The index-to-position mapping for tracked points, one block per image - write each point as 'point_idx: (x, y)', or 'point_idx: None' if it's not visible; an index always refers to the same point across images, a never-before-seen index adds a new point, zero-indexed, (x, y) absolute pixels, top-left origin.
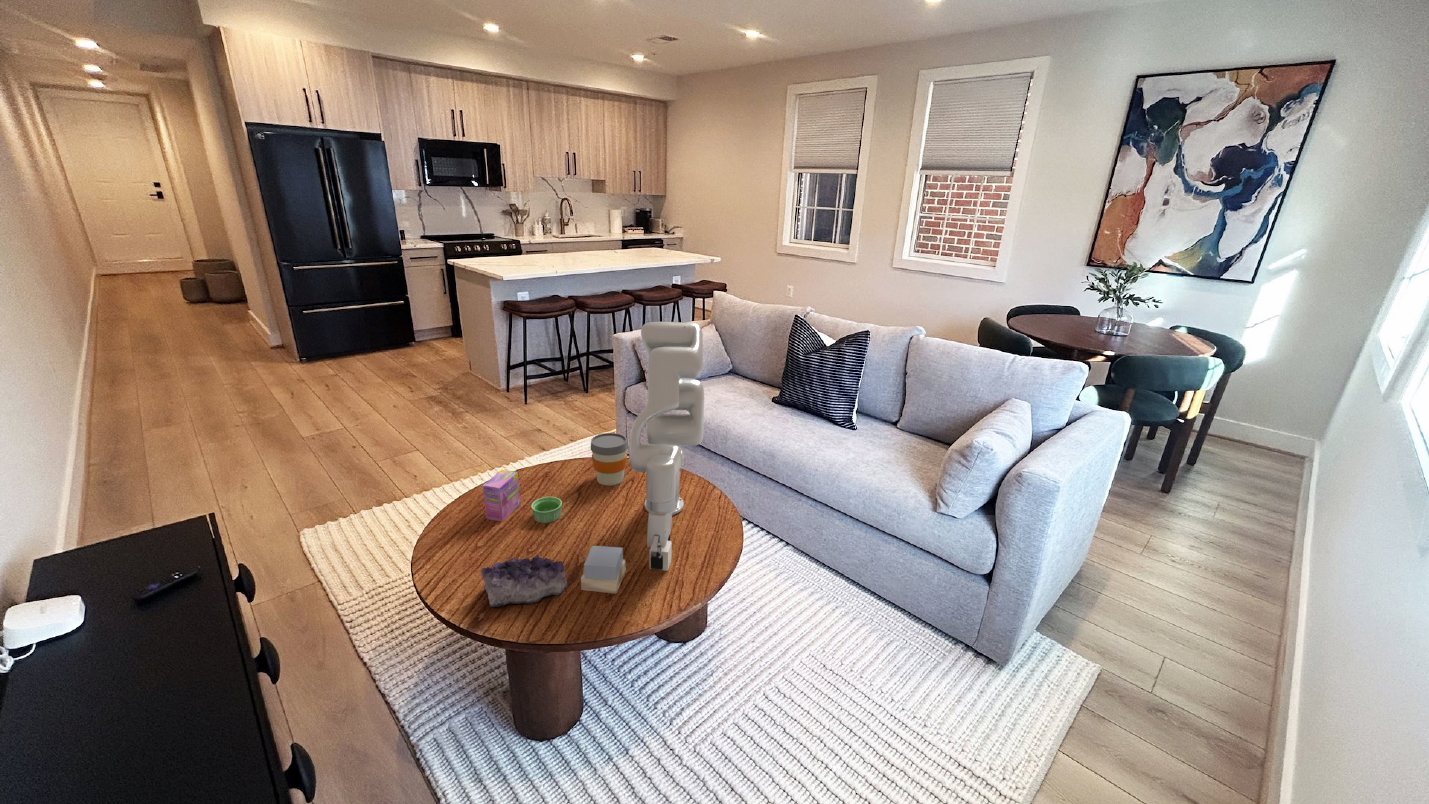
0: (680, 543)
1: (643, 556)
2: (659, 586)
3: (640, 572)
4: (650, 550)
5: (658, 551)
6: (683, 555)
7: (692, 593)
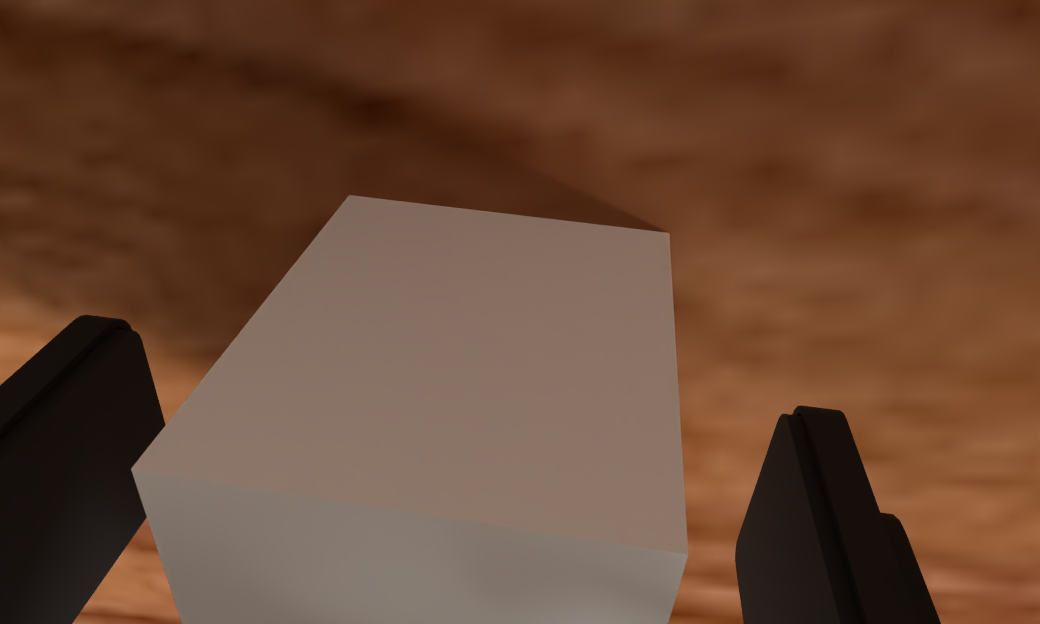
0: (1016, 569)
1: (701, 36)
2: (40, 349)
3: (211, 51)
4: (138, 486)
5: (185, 619)
6: (710, 583)
7: (98, 609)
